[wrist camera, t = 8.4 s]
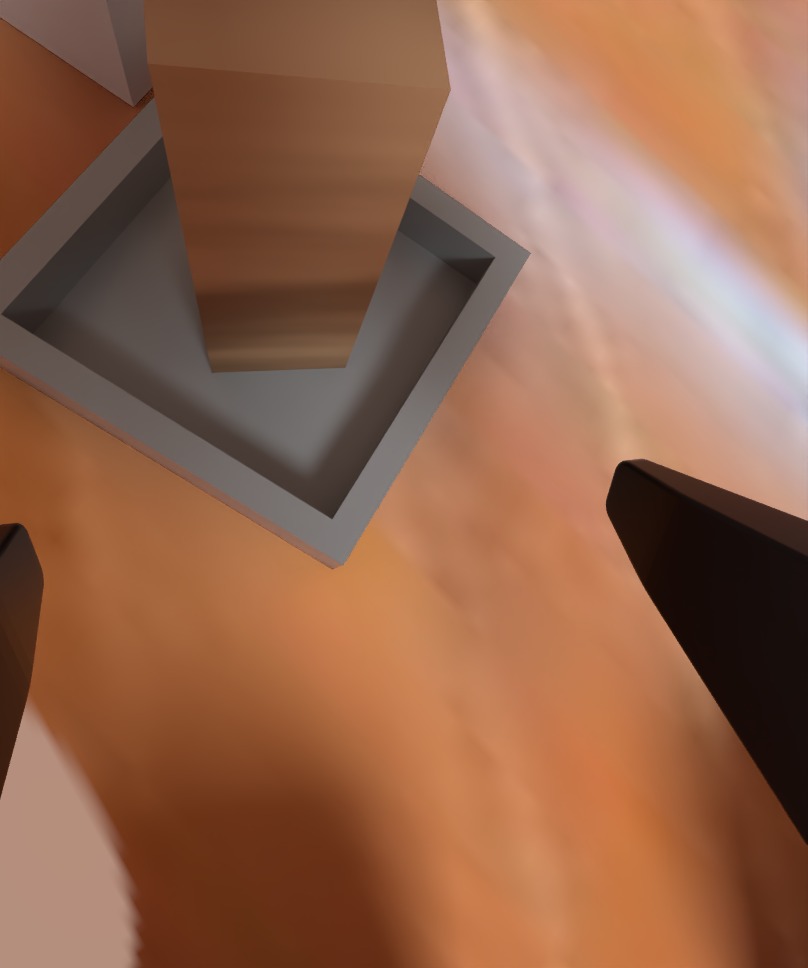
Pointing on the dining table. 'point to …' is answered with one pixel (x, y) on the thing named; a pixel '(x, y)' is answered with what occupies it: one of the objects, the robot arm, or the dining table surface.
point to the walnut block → (292, 161)
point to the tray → (254, 394)
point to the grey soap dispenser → (90, 39)
